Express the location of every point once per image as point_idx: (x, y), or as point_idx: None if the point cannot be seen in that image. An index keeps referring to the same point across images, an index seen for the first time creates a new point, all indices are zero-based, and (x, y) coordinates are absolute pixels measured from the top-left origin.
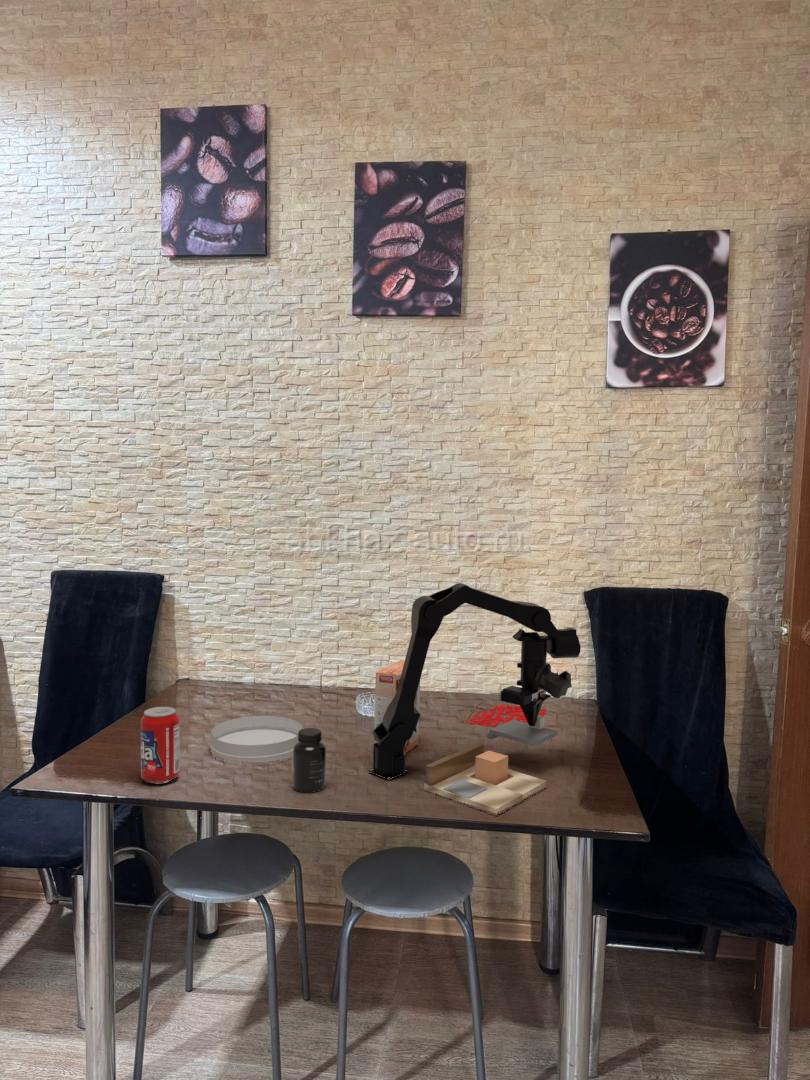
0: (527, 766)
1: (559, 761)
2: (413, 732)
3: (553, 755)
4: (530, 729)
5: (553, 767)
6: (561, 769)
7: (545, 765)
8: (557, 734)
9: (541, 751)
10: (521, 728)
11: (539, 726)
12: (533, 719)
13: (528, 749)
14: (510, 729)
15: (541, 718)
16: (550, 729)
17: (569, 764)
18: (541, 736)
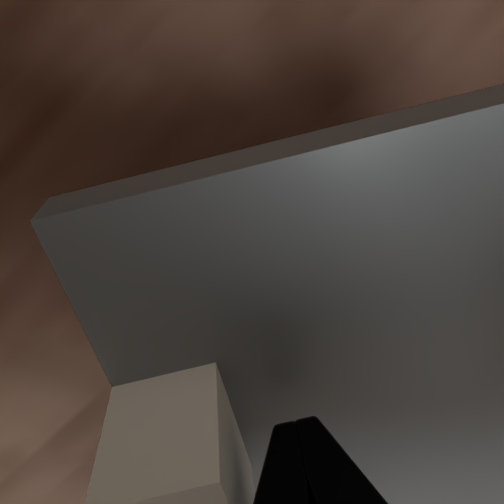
0: None
1: (43, 153)
2: None
3: (9, 255)
4: (306, 404)
5: (169, 90)
6: (142, 21)
7: (193, 152)
8: (44, 202)
9: (42, 337)
10: (357, 457)
11: (217, 394)
12: (369, 487)
13: (98, 389)
14: (463, 475)
15: (179, 488)
16: (85, 309)
17: (6, 63)
18: (414, 172)
